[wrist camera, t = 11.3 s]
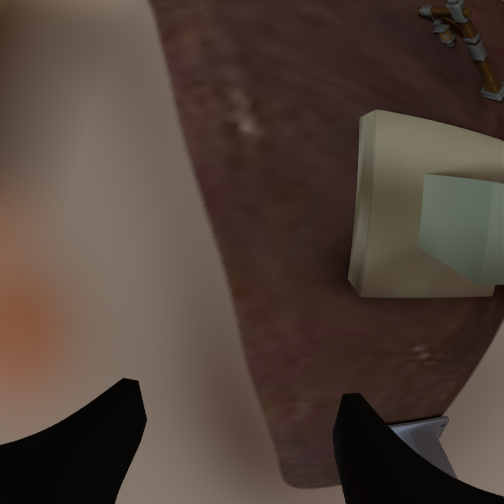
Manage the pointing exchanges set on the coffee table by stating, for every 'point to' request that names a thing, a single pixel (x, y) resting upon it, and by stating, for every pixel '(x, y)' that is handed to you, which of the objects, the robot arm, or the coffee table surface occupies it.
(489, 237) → the sage block
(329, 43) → the coffee table surface
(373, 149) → the beige flat square block
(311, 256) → the coffee table surface
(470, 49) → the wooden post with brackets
